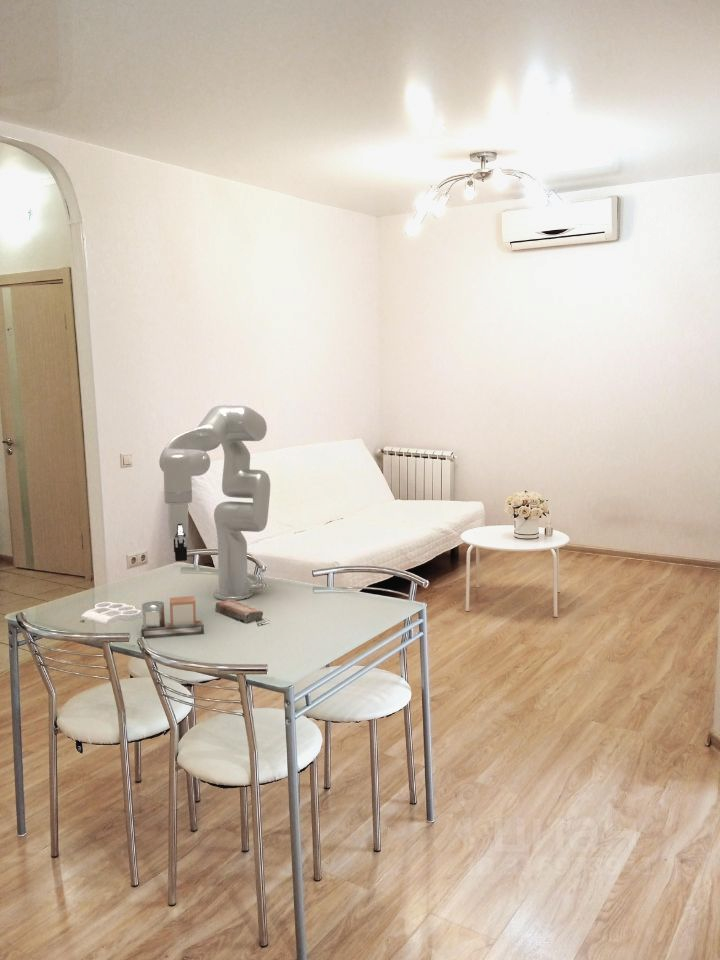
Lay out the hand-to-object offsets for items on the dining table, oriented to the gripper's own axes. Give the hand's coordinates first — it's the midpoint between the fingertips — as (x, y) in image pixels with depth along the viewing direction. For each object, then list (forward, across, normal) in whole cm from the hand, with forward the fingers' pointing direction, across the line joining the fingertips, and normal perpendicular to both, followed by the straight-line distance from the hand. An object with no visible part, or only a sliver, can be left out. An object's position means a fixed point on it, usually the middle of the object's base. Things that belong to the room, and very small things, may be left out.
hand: (180, 556), depth 229 cm
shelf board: (+22, 0, -3) cm, 23 cm away
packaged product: (+23, -8, +17) cm, 30 cm away
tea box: (+21, +1, 0) cm, 21 cm away
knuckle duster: (+23, -18, -20) cm, 35 cm away
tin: (+21, +1, -8) cm, 23 cm away
